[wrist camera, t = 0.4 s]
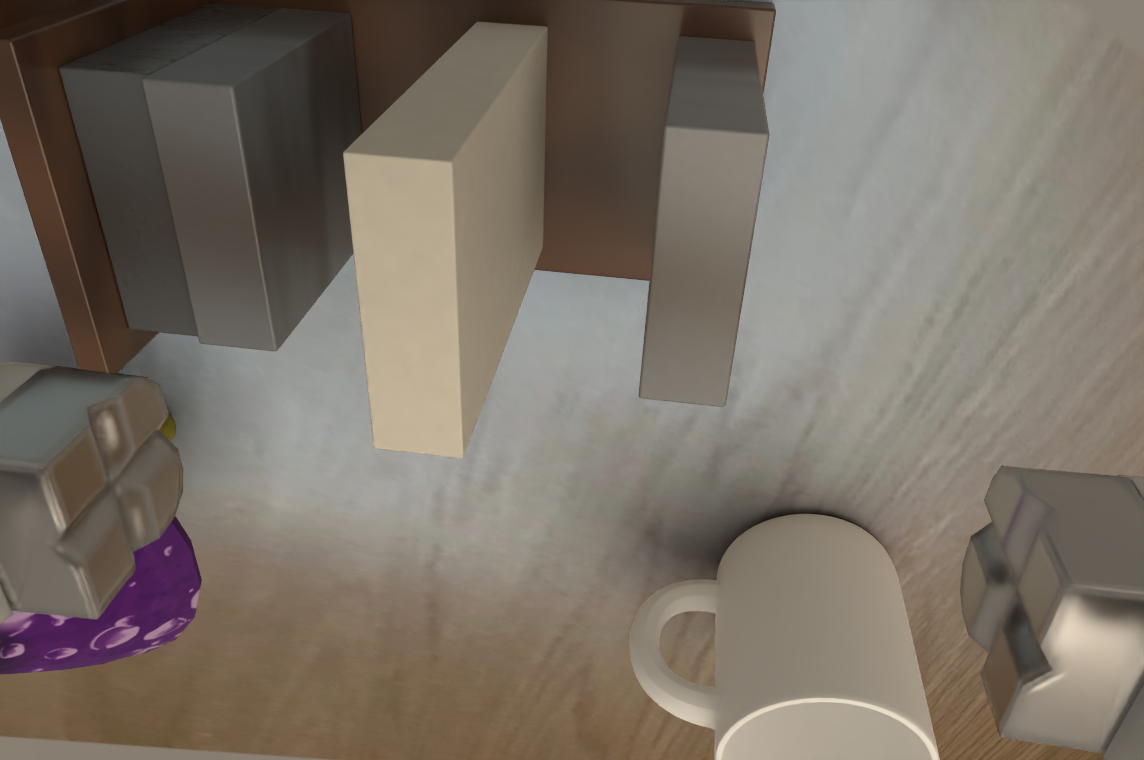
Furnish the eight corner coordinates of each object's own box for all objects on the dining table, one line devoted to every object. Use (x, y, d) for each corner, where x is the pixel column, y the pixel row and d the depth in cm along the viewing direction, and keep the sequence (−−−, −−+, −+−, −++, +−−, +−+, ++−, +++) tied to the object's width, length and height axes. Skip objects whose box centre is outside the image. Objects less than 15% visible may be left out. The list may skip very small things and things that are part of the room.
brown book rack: (190, -36, 31) (-28, 36, 22) (774, 2, 29) (801, 99, 20) (238, 231, 37) (80, 377, 28) (732, 277, 35) (738, 450, 26)
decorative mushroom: (242, 292, 38) (14, 535, 26) (320, 516, 45) (169, 794, 33) (-14, 304, 40) (-336, 533, 28) (97, 515, 47) (-124, 776, 35)
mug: (630, 609, 46) (610, 798, 37) (647, 484, 41) (628, 667, 33) (871, 644, 45) (907, 846, 36) (916, 519, 40) (969, 717, 32)
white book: (476, 21, 30) (341, 151, 19) (547, 25, 30) (451, 161, 19) (481, 242, 34) (373, 448, 24) (543, 247, 34) (462, 459, 23)
